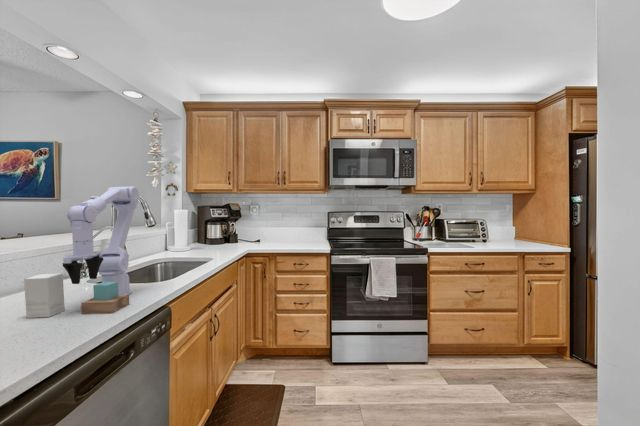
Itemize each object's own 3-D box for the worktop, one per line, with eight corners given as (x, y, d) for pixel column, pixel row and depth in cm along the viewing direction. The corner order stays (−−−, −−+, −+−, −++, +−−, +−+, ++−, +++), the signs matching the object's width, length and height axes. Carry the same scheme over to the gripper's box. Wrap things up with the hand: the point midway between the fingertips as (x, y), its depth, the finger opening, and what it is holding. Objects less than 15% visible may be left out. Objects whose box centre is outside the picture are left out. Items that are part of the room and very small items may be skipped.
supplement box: (65, 310, 117) (63, 272, 116) (49, 317, 109) (47, 277, 109) (43, 311, 117) (41, 273, 116) (25, 318, 109) (23, 278, 109)
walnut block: (100, 306, 122) (100, 294, 122) (129, 305, 122) (129, 294, 122) (81, 315, 112) (81, 303, 112) (112, 314, 112) (112, 302, 112)
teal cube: (105, 296, 120) (104, 281, 120) (118, 296, 120) (117, 281, 119) (94, 300, 115) (93, 285, 115) (107, 300, 115) (107, 285, 114)
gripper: (77, 243, 110) (79, 286, 110) (109, 238, 124) (110, 276, 125) (56, 243, 111) (58, 286, 111) (90, 239, 125) (92, 276, 125)
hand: (84, 281), depth 118 cm, fingers open, 7 cm apart
